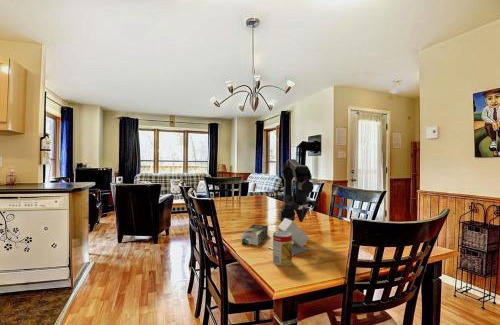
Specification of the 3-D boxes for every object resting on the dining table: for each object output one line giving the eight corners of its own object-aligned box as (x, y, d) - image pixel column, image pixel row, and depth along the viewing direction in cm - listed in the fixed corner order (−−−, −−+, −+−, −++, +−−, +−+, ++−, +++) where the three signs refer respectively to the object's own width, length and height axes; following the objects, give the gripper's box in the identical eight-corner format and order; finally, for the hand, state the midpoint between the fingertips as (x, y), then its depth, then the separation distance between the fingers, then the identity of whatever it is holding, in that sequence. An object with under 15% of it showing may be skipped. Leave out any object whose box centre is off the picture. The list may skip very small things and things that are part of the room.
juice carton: (258, 246, 131) (258, 234, 131) (239, 244, 134) (239, 232, 134) (268, 236, 150) (268, 225, 150) (251, 234, 153) (251, 224, 153)
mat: (286, 243, 136) (286, 242, 136) (308, 250, 125) (308, 249, 125) (268, 248, 128) (268, 247, 128) (290, 256, 117) (290, 255, 117)
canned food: (295, 262, 111) (295, 233, 111) (284, 267, 105) (284, 237, 105) (280, 257, 116) (280, 230, 116) (269, 262, 110) (269, 233, 110)
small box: (309, 237, 130) (293, 221, 127) (302, 247, 129) (284, 231, 125) (300, 233, 138) (285, 217, 134) (293, 242, 136) (277, 227, 133)
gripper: (300, 188, 144) (300, 216, 144) (276, 190, 132) (276, 221, 132) (317, 190, 136) (317, 220, 136) (293, 192, 124) (293, 226, 124)
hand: (300, 221), depth 132 cm, fingers closed
